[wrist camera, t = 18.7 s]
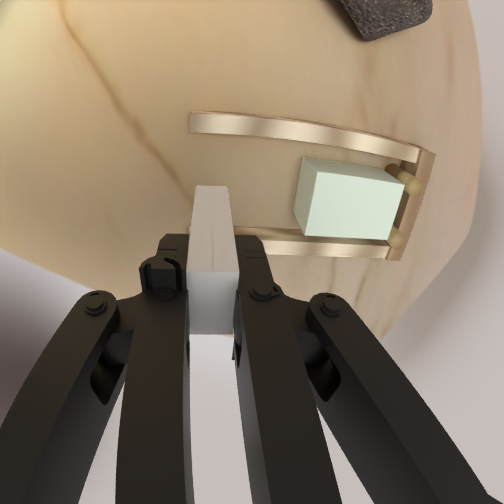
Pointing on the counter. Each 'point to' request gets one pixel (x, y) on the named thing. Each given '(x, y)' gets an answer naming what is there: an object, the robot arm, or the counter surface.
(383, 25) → the stone
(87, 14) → the counter surface
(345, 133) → the wooden u-shaped frame
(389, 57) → the counter surface
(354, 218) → the block
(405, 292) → the counter surface
